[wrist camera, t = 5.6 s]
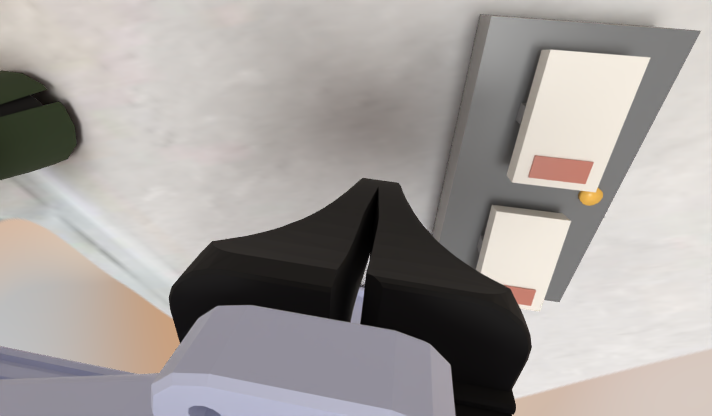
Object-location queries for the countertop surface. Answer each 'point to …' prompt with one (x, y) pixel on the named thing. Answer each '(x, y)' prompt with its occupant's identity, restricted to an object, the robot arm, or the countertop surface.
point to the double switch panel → (504, 116)
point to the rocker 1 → (522, 251)
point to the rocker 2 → (574, 118)
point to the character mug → (31, 127)
